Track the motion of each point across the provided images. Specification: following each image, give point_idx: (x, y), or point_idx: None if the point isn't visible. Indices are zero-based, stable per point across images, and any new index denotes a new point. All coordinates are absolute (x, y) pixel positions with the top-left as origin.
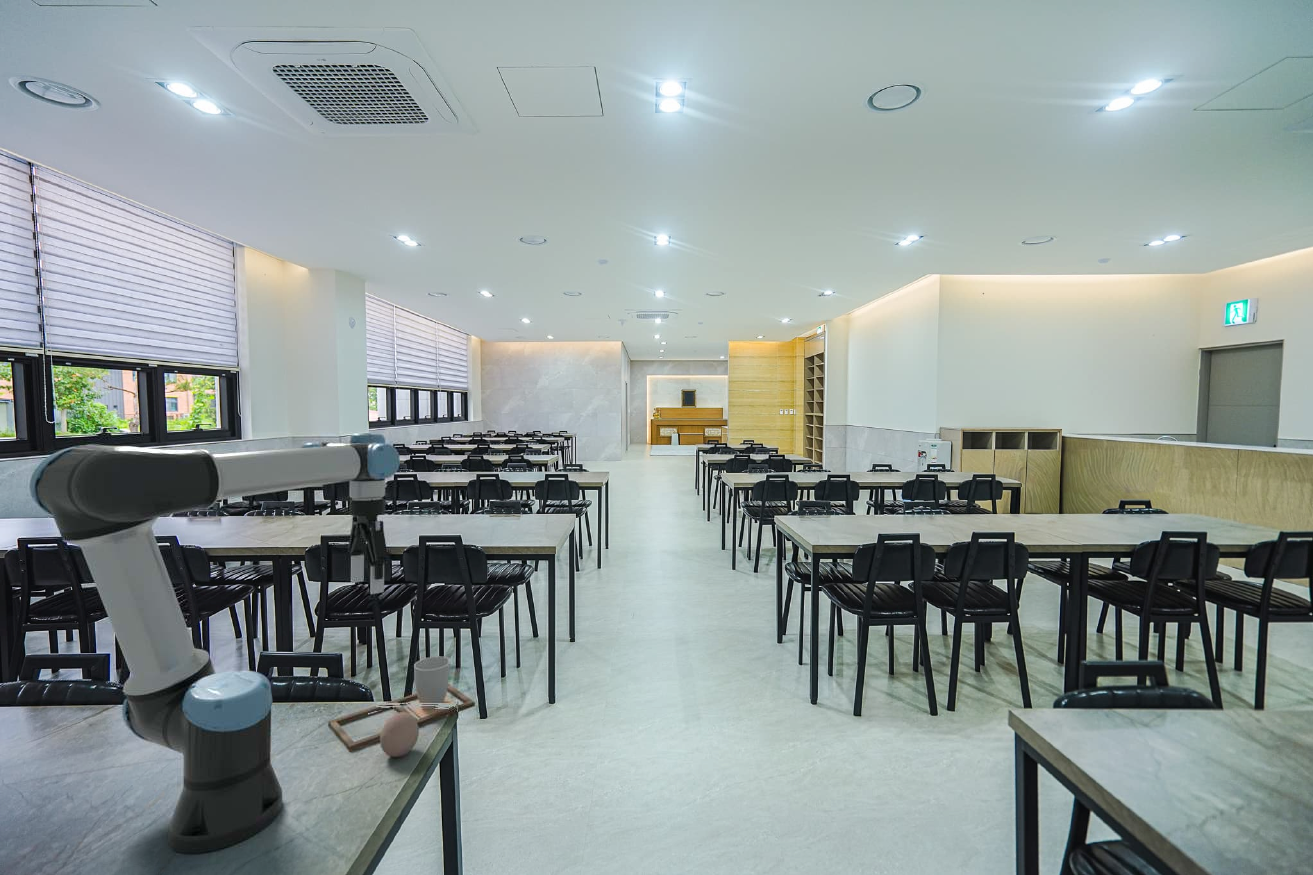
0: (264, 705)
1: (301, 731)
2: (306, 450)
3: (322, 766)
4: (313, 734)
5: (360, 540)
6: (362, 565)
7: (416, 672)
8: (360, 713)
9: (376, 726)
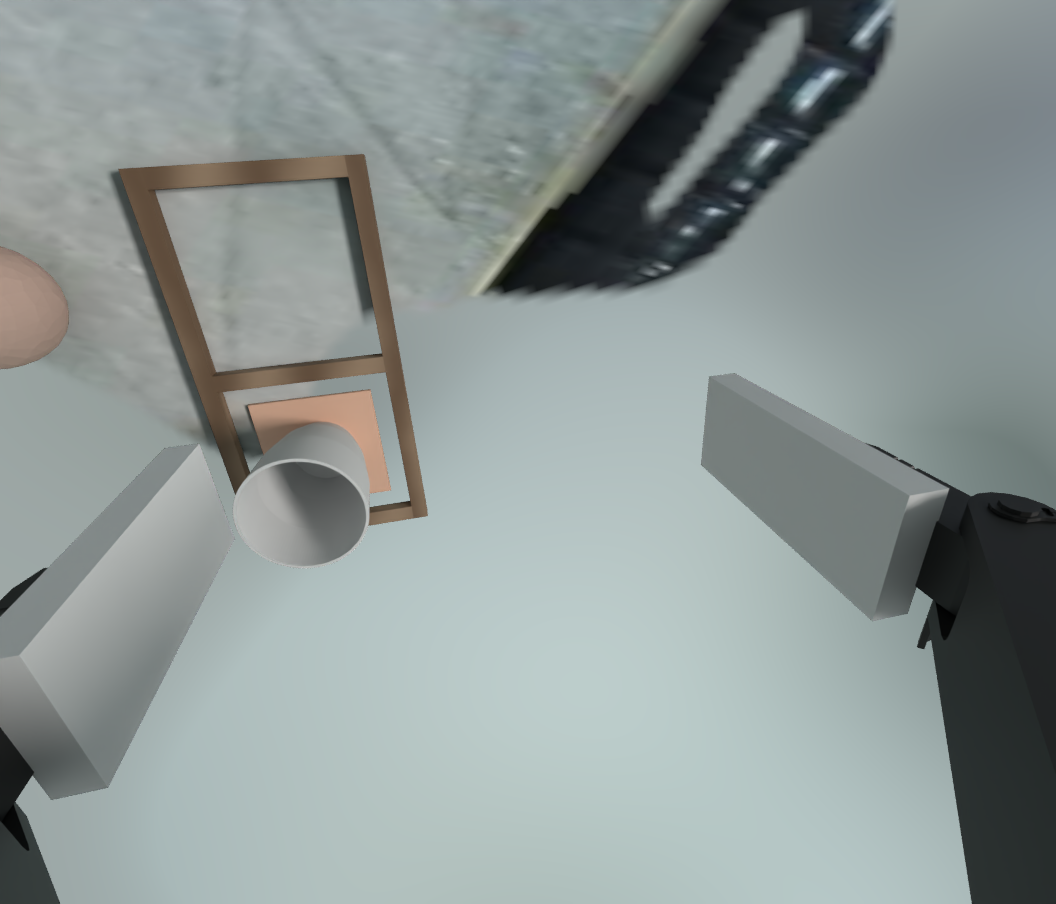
0: None
1: (373, 64)
2: None
3: (51, 63)
4: (325, 95)
5: (1021, 847)
6: (787, 530)
7: (282, 454)
8: (364, 259)
9: (272, 284)
